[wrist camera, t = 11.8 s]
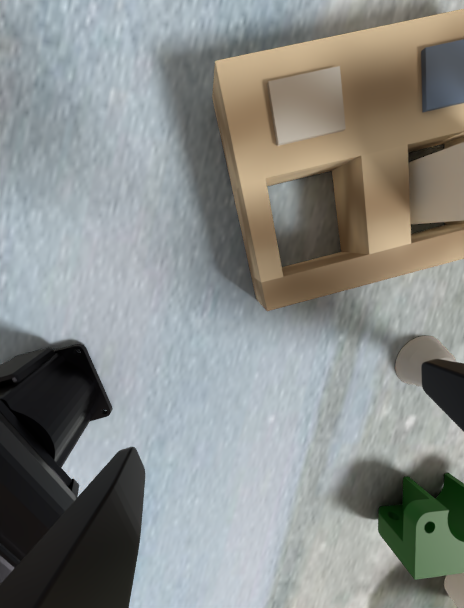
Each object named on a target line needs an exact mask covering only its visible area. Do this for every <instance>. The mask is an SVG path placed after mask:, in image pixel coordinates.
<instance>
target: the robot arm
mask: <svg viewBox="0 0 464 608" xmlns="http://www.w3.org/2000/svg"><path fill="white" fill-rule="evenodd" d="M76 349H79V350H80V351H81V353H78V352H77V351H76ZM421 378H422V387H423V389H424V391H425V392H426V394H427V395H428V396H429V397H430V398H431V399H432V400H433V401H434V402H435V403H436V404H437V405H438V406H439V407H440V408H441V409H442V410H443V411H444V412H445V413H446V414H447V415H448V416H449V417H450V418H451V419H452V420H453V421H454V422H455V423H456V424H457V425H458V426H459V427H460V428H461V429H462V430H463V431H464V364H463V363H458V362H453V361H447V360H442V359H432V360H429V361H425V362H423V363H422V365H421ZM103 409H106V410H107V411H104V410H103ZM111 411H112V406H111V403H110V401H109V399H108V397H107V394H106V392H105V390H104V387H103V385H102V383H101V381H100V378H99V376H98V374H97V372H96V369H95V367H94V365H93V363H92V360H91V358H90V356H89V353H88V351H87V349H86V347H85V346H84V345H82V344H75V345H71V346H67V347H64V348H60V349H56V350H54V349H53V348H49V347H48V348H44V349H40V350H37V351H33V352H29V353H25V354H21V355H18V356H15V357H14V358H12V359H10V360H9V361H7V362H6V363H3V364H1V365H0V608H129V602H130V596H131V590H132V585H133V579H134V573H135V567H136V561H137V555H138V549H139V543H140V534H141V523H142V511H143V498H144V486H145V469H144V466H143V463H142V461H141V459H140V457H139V454H138V452H137V450H136V448H135V447H129V448H126V449H122V450H120V451H119V452H118V453H117V454H116V455H115V456H114V457H113V458H112V459H111V460H110V462H109V463H108V464H107V465H106V466H105V467H104V468H103V469H102V471H101V472H100V473H99V474H98V475H97V476H96V477H95V478H94V480H93V481H92V482H91V483H90V484H89V485H88V486H87V487H86V489H85V490H84V491H83V492H82V493H81V494H80V495H79V496H78V498H77V495H78V489H79V484H78V483H77V482H76V481H75V480H74V479H71V478H70V477H69V476H68V475H67V474H66V473H65V472H64V471H63V469H62V468H61V467H62V466H63V464H64V463H65V461H66V459H67V458H68V456H69V454H70V453H71V451H72V449H73V448H74V446H75V445H76V443H77V441H78V440H79V438H80V436H81V435H82V433H83V431H84V430H85V428H86V426H87V425H88V423H89V422H90V421H92V420H96V419H100V418H103V417H107V416H109V415H110V413H111Z"/></svg>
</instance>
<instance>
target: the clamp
mask: <svg viewBox="0 0 464 608" xmlns="http://www.w3.org/2000/svg"><path fill="white" fill-rule="evenodd" d="M378 531H379V534H380V535H381V537H382V538H383V539H384V540H385V542H386V543H387V544H388V546H389V547H390V548H391V550H392V551H393V552H394V553H395V555H396V556H397V557H398V559H399V560H400V561H401V562H402V564H403V565H404V566H405V568H406V569H407V570H408V571H409V573H410V574H411V575H412V577H413V578H414V579H415V580H416V579H423V578H431V577H438V576H445V575H453V574H460V573H464V483H462V482H461V481H459V480H458V479H456V478H455V477H453V476H452V475H450V474H449V473H445V474H444V485H443V489H442V491H441V493H440V494H439V495H438V496H437V497H436V498H434V497H433V496H431V495H430V494H429V493H428V492H427V491H425V490H424V489H423V488H422V487H421V486H419V485H418V484H417V483H416V482H415V481H413V480H412V479H411V478H410V477H409V476H407V477H404V478H403V500H402V505H391V506H381V507H379V517H378Z"/></svg>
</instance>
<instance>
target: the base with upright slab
mask: <svg viewBox="0 0 464 608" xmlns="http://www.w3.org/2000/svg"><path fill="white" fill-rule="evenodd" d="M444 588H445V590H446V592H447V593H448V595H449V596H450V598H451V599H452V600H453V602H454V603H455V605H456V606H457V608H464V573H460V574H453V575H446V578H445V581H444Z"/></svg>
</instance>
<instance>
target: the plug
mask: <svg viewBox="0 0 464 608" xmlns="http://www.w3.org/2000/svg"><path fill="white" fill-rule="evenodd" d="M408 167H409V195H410V223H411V224H423V223H436V222H450V221H464V142H462V143H460V144H457V145H454V146H452V147H449V148H446V149H444V150H441V151H438V152H436V153H433V154H430V155H427V156H425V157H422V158H419V159H417V160H414V161H411V162H409V163H408Z"/></svg>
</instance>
